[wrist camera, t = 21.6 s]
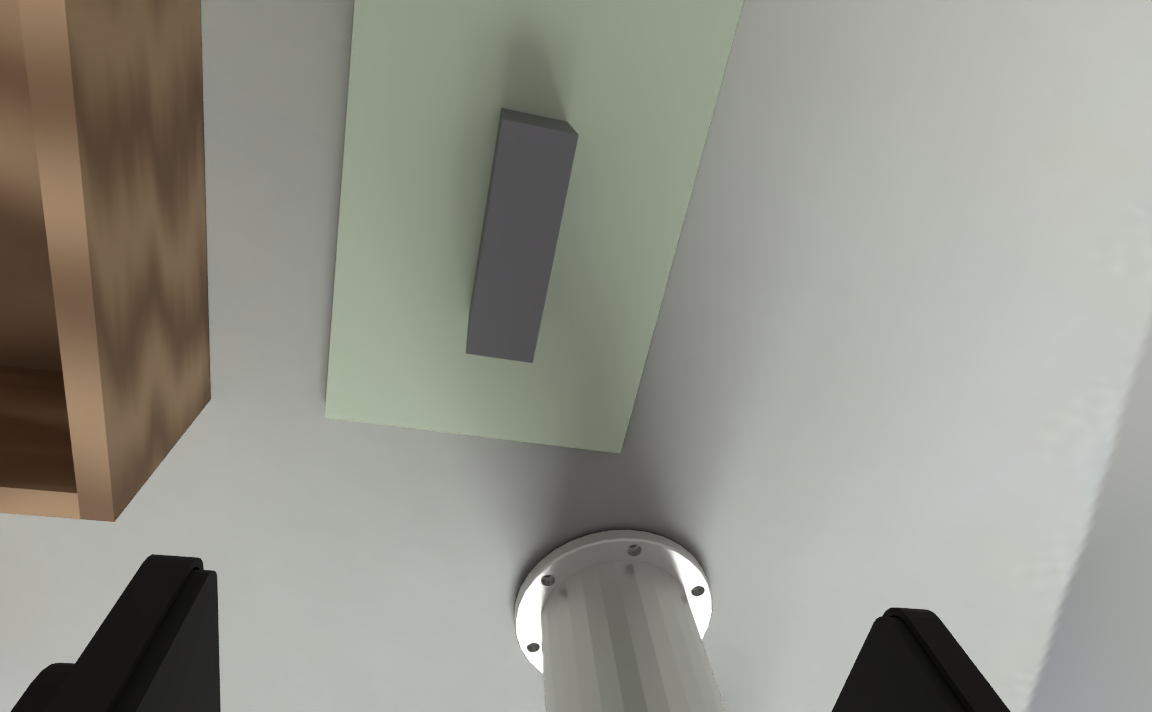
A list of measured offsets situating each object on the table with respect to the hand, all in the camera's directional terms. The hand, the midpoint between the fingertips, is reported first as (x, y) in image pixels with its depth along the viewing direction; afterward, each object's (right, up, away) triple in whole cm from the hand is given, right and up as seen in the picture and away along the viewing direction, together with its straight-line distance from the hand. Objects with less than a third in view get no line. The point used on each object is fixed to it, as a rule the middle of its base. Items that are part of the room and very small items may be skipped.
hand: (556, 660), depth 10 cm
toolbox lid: (-3, +11, +24) cm, 27 cm away
